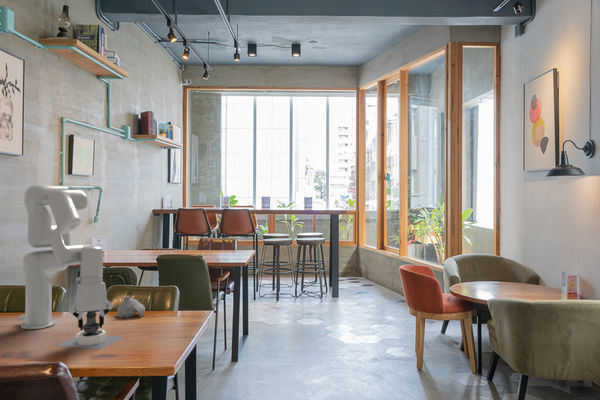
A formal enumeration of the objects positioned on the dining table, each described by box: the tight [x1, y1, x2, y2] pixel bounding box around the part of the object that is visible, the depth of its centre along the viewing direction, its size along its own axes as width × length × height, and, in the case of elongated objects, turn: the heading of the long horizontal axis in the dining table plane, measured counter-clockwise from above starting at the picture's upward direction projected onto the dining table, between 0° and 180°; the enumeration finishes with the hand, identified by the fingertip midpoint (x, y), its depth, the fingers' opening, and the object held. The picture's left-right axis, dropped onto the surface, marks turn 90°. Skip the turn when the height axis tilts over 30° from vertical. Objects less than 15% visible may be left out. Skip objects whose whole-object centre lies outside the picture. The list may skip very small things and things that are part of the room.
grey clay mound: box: [116, 295, 146, 319], centre depth 204 cm, size 12×12×11 cm
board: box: [56, 335, 124, 350], centre depth 164 cm, size 18×14×1 cm
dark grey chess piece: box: [83, 311, 100, 336], centre depth 164 cm, size 6×6×12 cm
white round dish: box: [76, 328, 107, 345], centre depth 164 cm, size 9×9×3 cm
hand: (91, 327), depth 164 cm, fingers closed on dark grey chess piece, 5 cm apart
